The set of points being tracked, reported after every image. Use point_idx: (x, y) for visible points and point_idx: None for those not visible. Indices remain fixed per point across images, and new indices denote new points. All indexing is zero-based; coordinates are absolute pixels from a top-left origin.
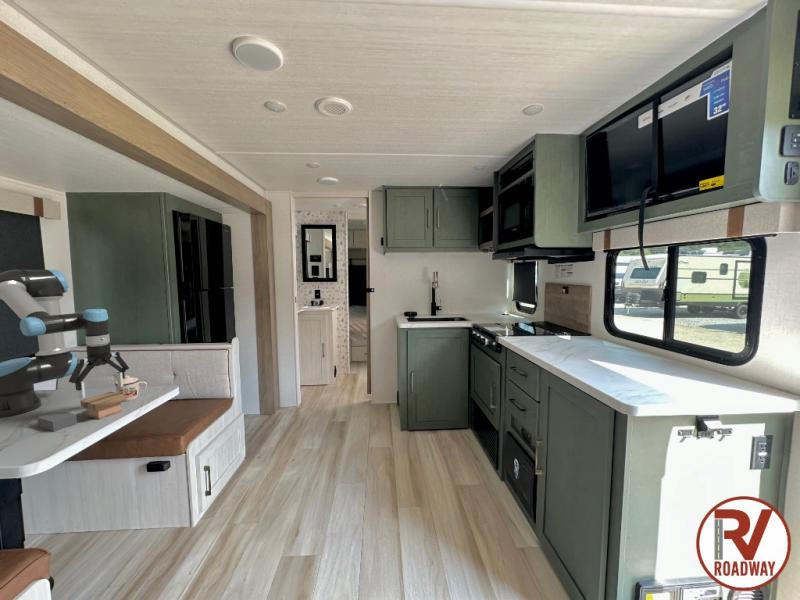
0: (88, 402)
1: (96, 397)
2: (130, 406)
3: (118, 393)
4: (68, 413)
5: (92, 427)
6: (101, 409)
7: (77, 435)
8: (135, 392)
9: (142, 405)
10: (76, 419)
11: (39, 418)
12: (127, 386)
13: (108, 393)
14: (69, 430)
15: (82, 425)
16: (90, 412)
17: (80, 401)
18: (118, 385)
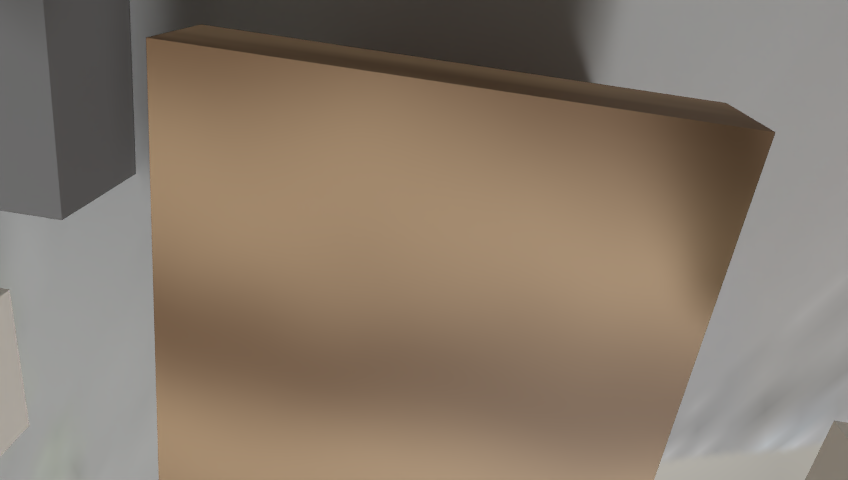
0: (164, 320)
1: (393, 187)
2: (717, 303)
3: (676, 404)
4: (21, 42)
5: (157, 437)
6: None
7: (13, 467)
8: None
9: (759, 423)
10: (103, 193)
11: None
12: None
13: (655, 192)
14: (18, 283)
15: (139, 290)
16: None
17: (153, 36)
18: (827, 465)
